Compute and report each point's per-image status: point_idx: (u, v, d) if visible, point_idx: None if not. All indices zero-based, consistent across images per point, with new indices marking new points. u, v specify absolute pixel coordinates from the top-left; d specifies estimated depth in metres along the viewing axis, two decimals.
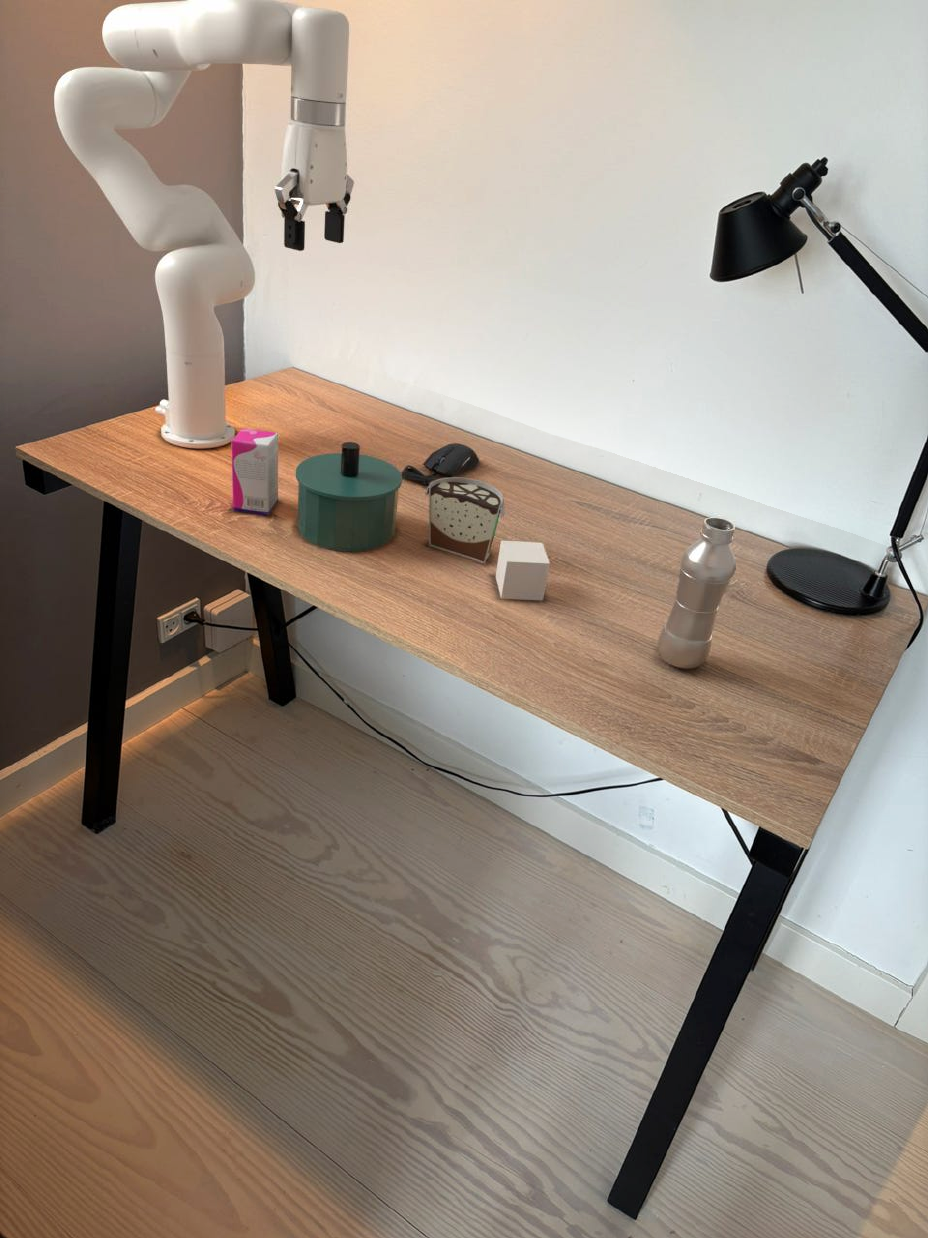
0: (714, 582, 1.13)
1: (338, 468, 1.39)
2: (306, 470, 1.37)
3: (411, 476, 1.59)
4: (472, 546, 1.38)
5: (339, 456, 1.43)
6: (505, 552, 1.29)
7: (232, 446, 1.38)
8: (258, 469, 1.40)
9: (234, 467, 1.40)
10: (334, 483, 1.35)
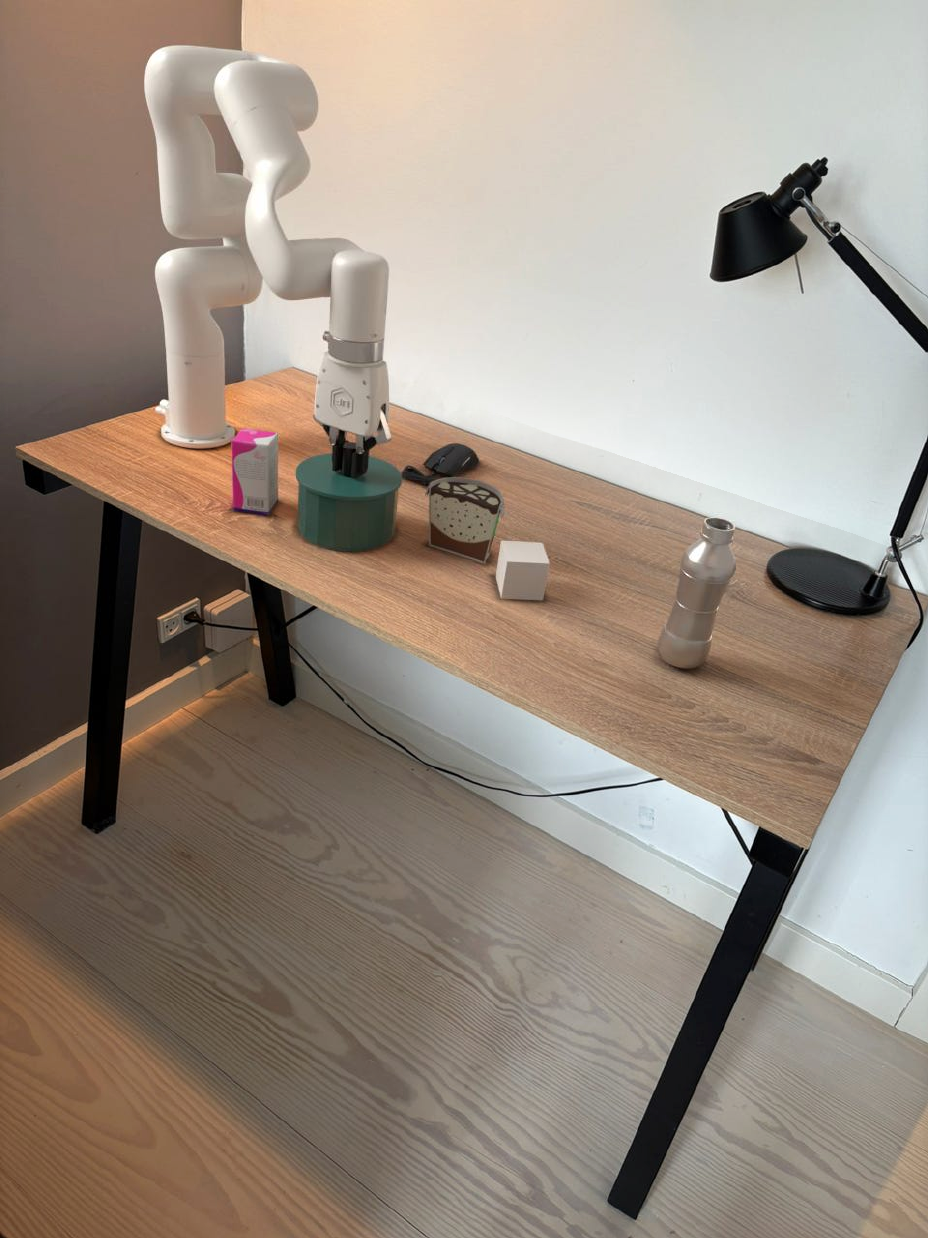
0: (714, 582, 1.13)
1: None
2: (306, 470, 1.37)
3: (411, 476, 1.59)
4: (472, 546, 1.38)
5: None
6: (505, 552, 1.29)
7: (232, 446, 1.38)
8: (258, 469, 1.40)
9: (234, 467, 1.40)
10: (334, 483, 1.35)
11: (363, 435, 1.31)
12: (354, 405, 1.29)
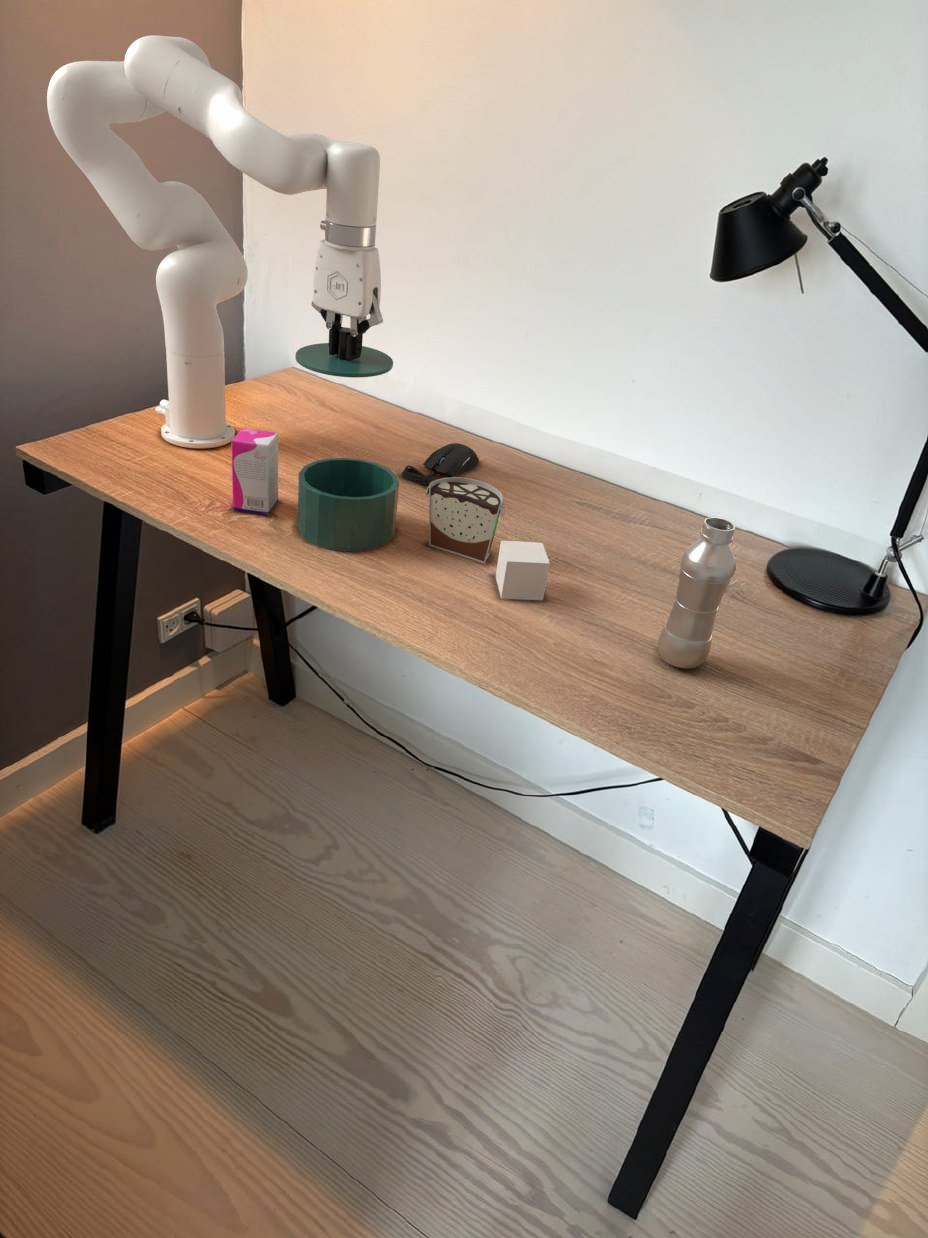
0: (714, 582, 1.13)
1: None
2: (305, 353, 1.50)
3: (411, 476, 1.59)
4: (472, 546, 1.38)
5: None
6: (505, 552, 1.29)
7: (232, 446, 1.38)
8: (258, 469, 1.40)
9: (234, 467, 1.40)
10: (330, 363, 1.47)
11: (357, 316, 1.43)
12: (348, 288, 1.41)
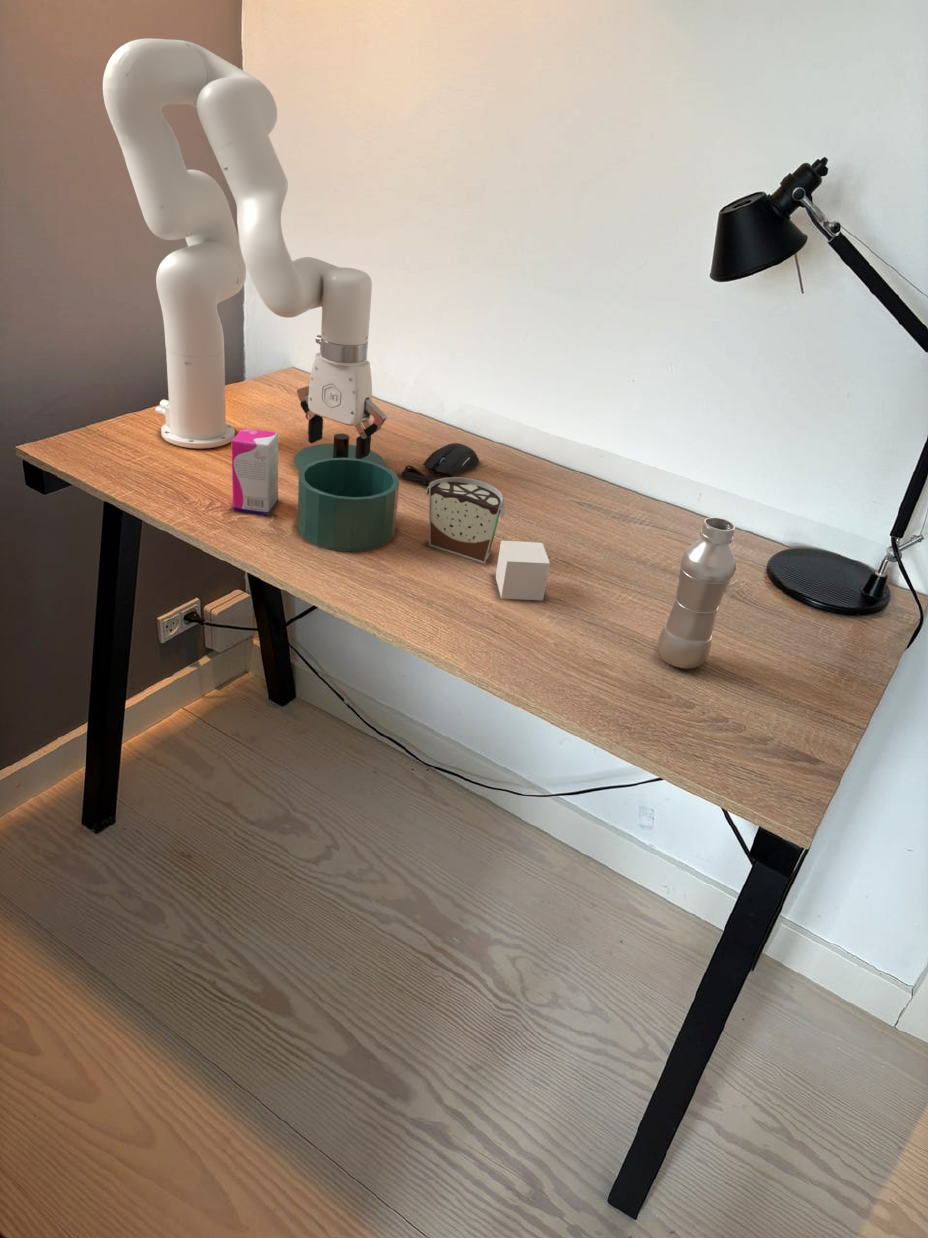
0: (714, 582, 1.13)
1: (331, 456, 1.62)
2: (303, 458, 1.60)
3: (411, 476, 1.59)
4: (472, 546, 1.38)
5: (332, 446, 1.66)
6: (505, 552, 1.29)
7: (232, 446, 1.38)
8: (258, 469, 1.40)
9: (234, 467, 1.40)
10: None
11: (349, 424, 1.53)
12: (342, 398, 1.52)
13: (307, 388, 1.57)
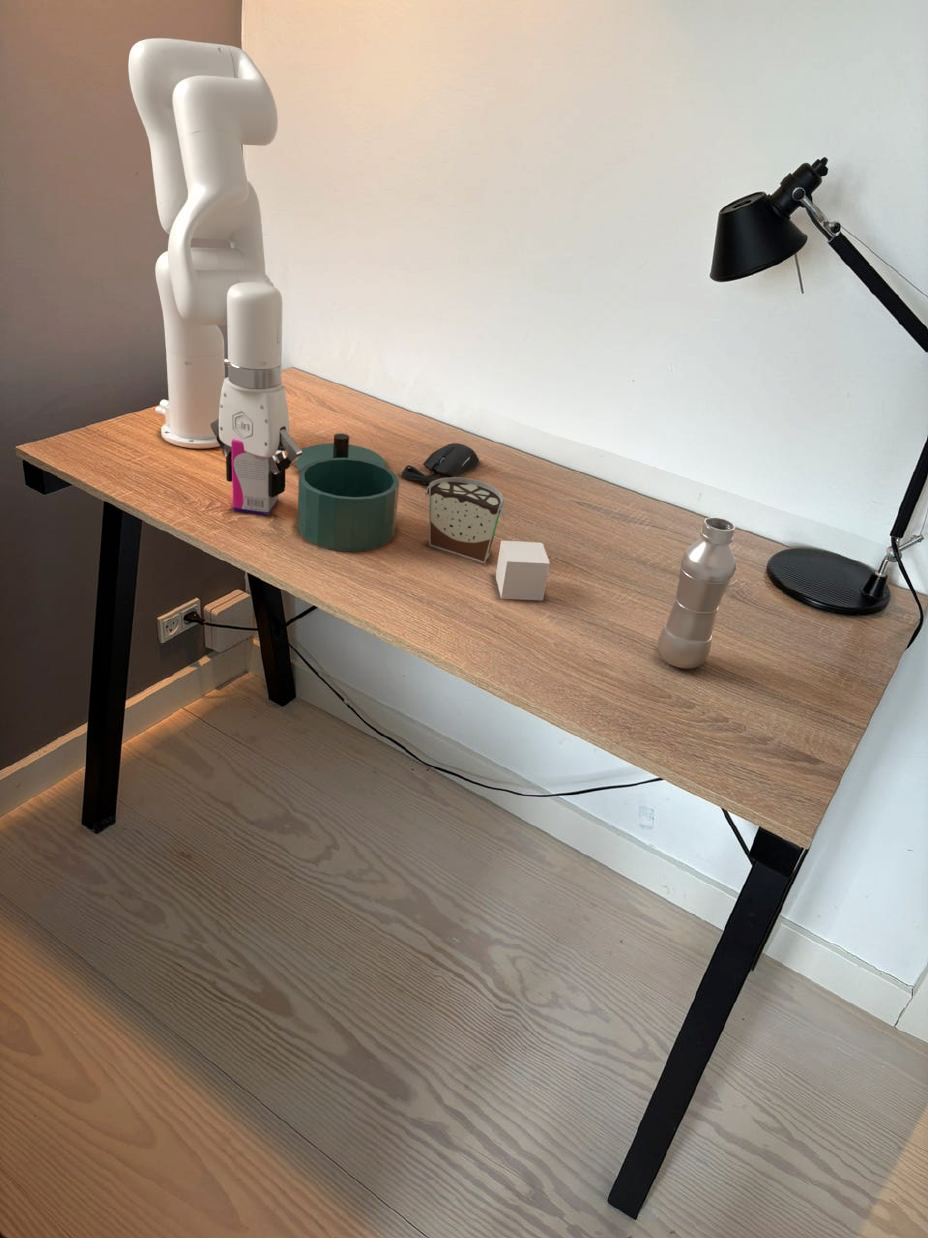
0: (714, 582, 1.13)
1: (331, 456, 1.62)
2: (303, 458, 1.60)
3: (411, 476, 1.59)
4: (472, 546, 1.38)
5: (332, 446, 1.66)
6: (505, 552, 1.29)
7: (232, 446, 1.38)
8: (258, 469, 1.40)
9: (234, 467, 1.40)
10: None
11: (263, 456, 1.37)
12: (254, 428, 1.35)
13: None
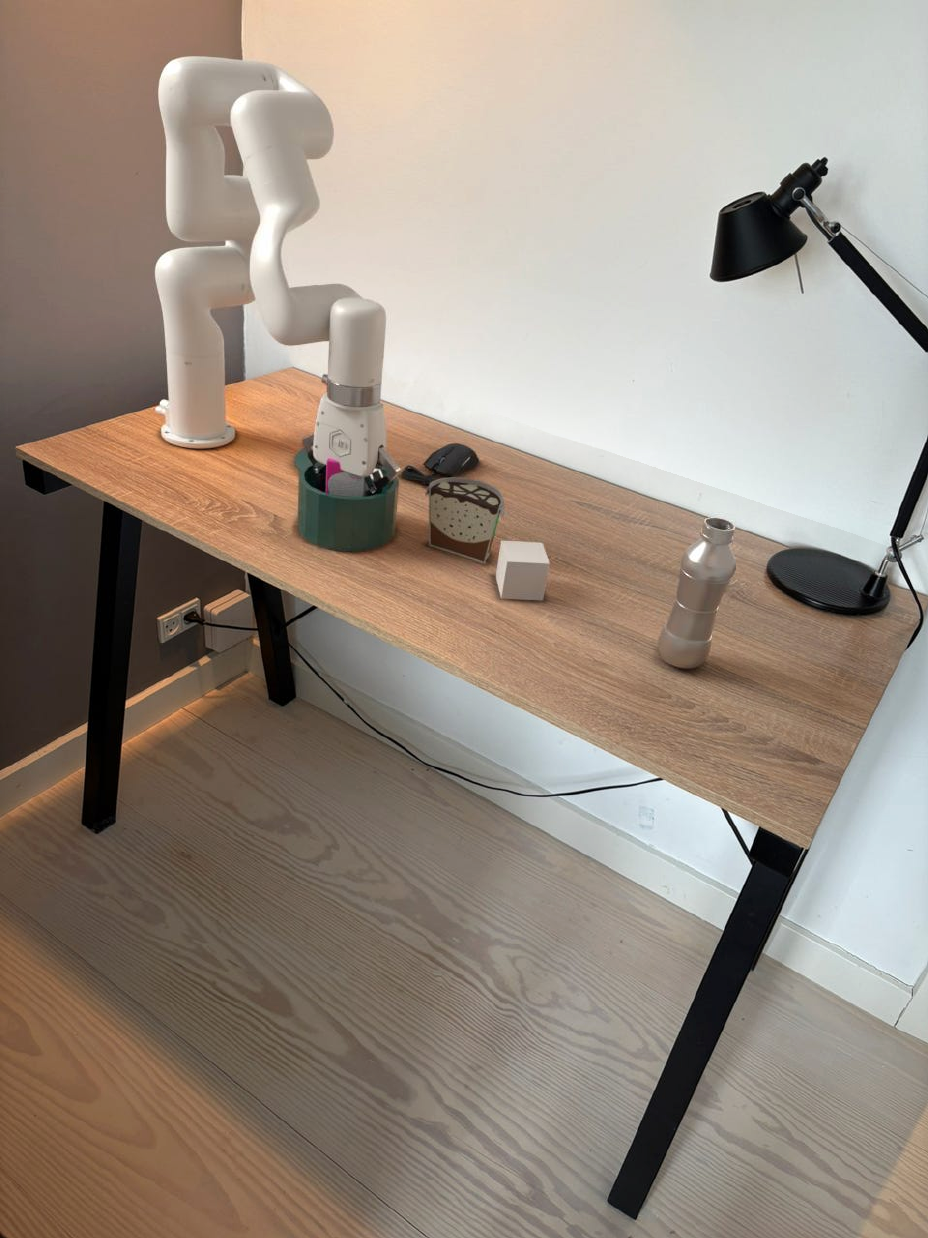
0: (714, 582, 1.13)
1: None
2: (303, 458, 1.60)
3: (411, 476, 1.59)
4: (472, 546, 1.38)
5: None
6: (505, 552, 1.29)
7: (327, 466, 1.35)
8: (353, 489, 1.36)
9: (328, 487, 1.37)
10: None
11: (361, 475, 1.34)
12: (352, 447, 1.32)
13: (313, 436, 1.38)
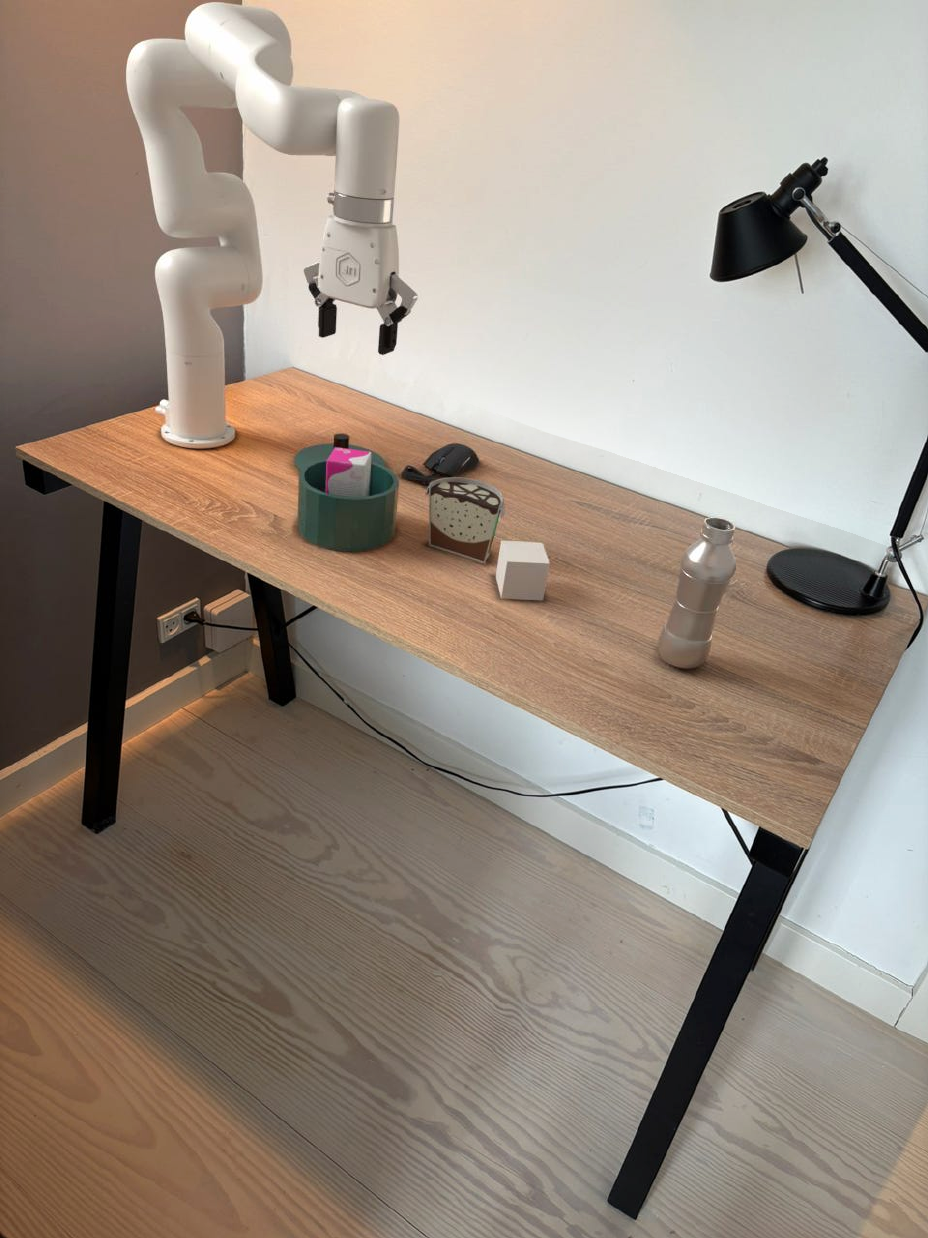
0: (714, 582, 1.13)
1: None
2: (303, 458, 1.60)
3: (411, 476, 1.59)
4: (472, 546, 1.38)
5: (332, 446, 1.66)
6: (505, 552, 1.29)
7: (327, 466, 1.35)
8: (353, 489, 1.36)
9: (328, 487, 1.37)
10: None
11: (371, 306, 1.21)
12: (361, 272, 1.20)
13: (317, 265, 1.25)
